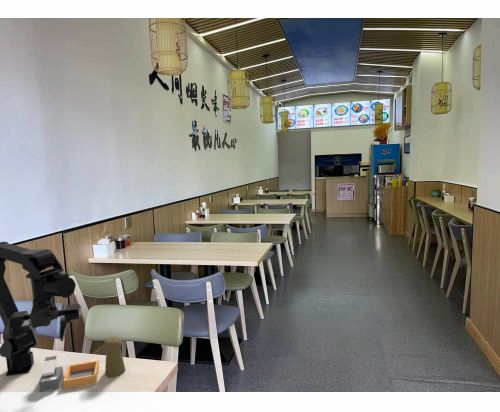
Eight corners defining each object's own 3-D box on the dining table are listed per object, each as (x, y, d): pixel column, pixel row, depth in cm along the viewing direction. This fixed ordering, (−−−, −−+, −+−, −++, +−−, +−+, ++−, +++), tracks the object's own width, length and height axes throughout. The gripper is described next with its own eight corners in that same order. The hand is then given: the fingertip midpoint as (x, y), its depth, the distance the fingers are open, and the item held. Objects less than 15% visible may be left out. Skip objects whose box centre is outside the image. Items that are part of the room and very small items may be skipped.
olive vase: (119, 378, 116) (116, 344, 114) (101, 376, 117) (97, 343, 116) (129, 367, 122) (126, 334, 120) (111, 365, 123) (109, 333, 121)
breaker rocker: (42, 376, 111) (41, 373, 110) (46, 359, 116) (45, 357, 115) (54, 374, 112) (53, 371, 111) (57, 357, 117) (56, 355, 116)
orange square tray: (64, 389, 111) (63, 381, 111) (69, 372, 120) (68, 365, 119) (96, 383, 114) (95, 375, 114) (99, 367, 122) (98, 360, 122)
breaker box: (39, 392, 110) (37, 376, 110) (45, 378, 117) (43, 363, 116) (58, 388, 112) (57, 373, 111) (63, 375, 119) (61, 360, 118)
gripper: (-2, 307, 102) (5, 362, 105) (73, 298, 108) (79, 350, 110) (11, 293, 113) (17, 343, 115) (79, 285, 118) (84, 333, 120)
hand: (49, 342), depth 115 cm, fingers open, 7 cm apart
